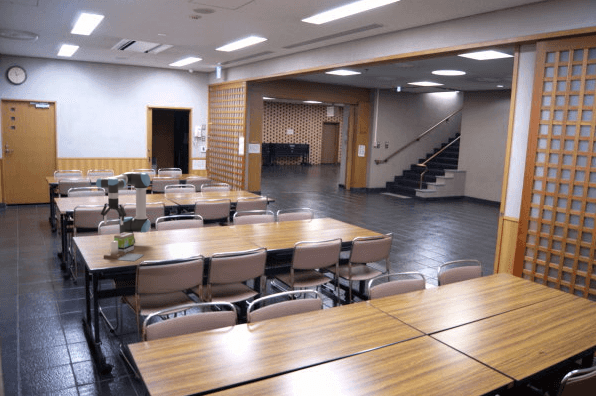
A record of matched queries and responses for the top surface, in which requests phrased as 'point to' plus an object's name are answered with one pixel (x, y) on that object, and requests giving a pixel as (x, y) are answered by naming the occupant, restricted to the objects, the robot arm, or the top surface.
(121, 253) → the walnut deck
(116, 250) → the ceramic canister
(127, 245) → the tea box
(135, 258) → the slate mat
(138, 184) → the robot arm
